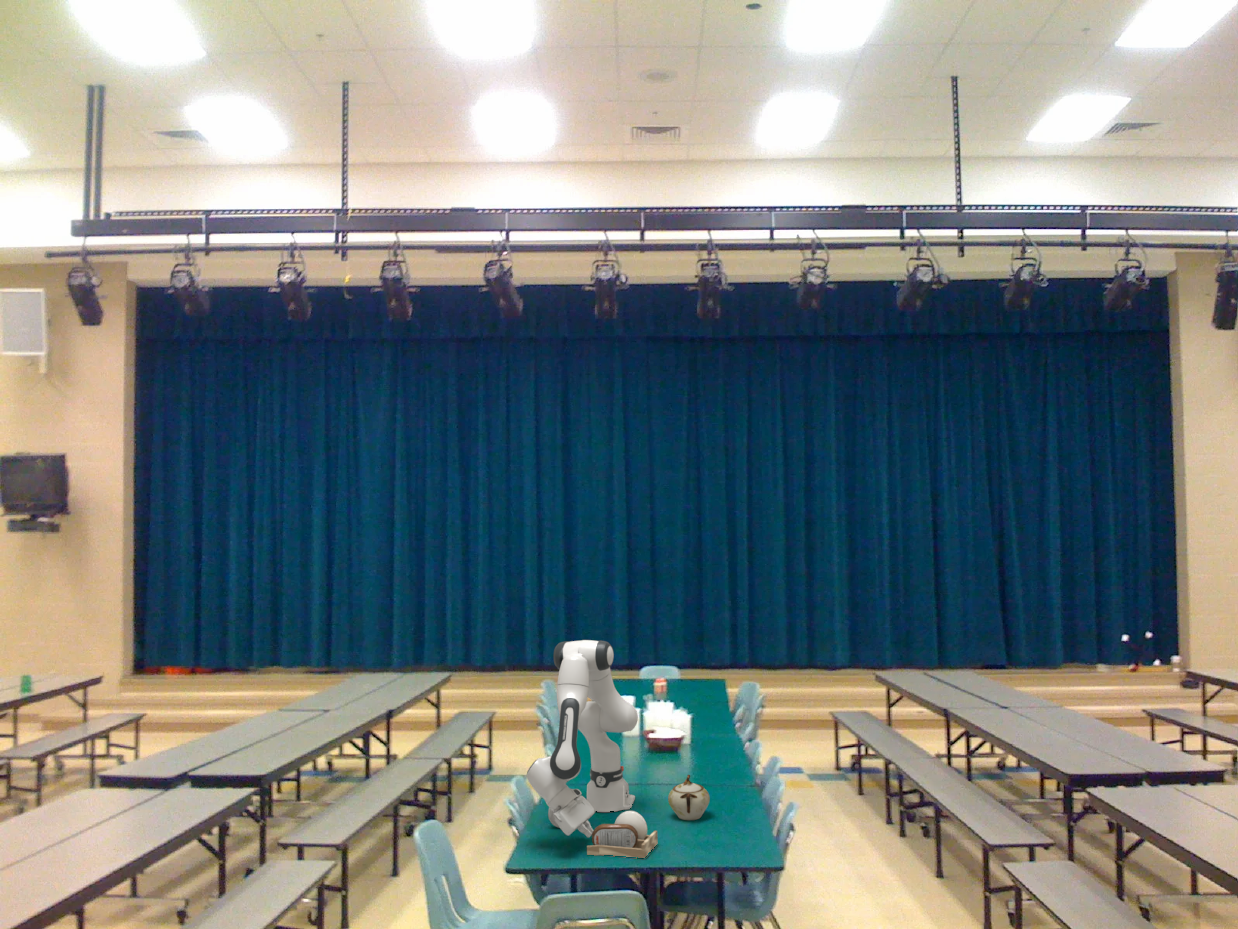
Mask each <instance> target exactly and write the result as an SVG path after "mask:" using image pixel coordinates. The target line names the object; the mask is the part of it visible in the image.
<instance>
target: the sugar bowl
mask: <svg viewBox="0 0 1238 929" xmlns="http://www.w3.org/2000/svg"><path fill="white" fill-rule="evenodd" d="M690 778H691V775H690V774H687V776H686V779H685V780H684V781H683V782H682V783H680V784H677V785H675V786H673V788H672V789H671V790H670V791H669V793H668V796H667V799H668V800H667V801H668V805H669V806H670V808H671V809H672V811H673V812H674V813H675V814H676V816H677V817H678V818H679V820H683V821H695V820H699V819H700V818H701V817H702V816H703V814H705V811H706V810H707V808H708V806H709V804H710V797H711V796H710V794H709V792H708V791H707V789H705V787H704V786H703V785H701V784H697V783H696V782H695V783H694V782H692V781H691V780H690Z"/></svg>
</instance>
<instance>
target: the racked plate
mask: <svg viewBox="0 0 1238 929" xmlns="http://www.w3.org/2000/svg"><path fill="white" fill-rule="evenodd" d="M614 824H629V825H631V826H633V827H634V828H635V829H636V831H637V833H638V839H640V840H644V839H645V837H646V835H648V825H647V824H648V823H647V822H646V820H645V818H644V817H643V816H642V815H641V814H640V813H639V812H637V811H635V810H625V811H624V812H621V813H620V814H619V815H618V816H617V817H616V819H615V822H614Z"/></svg>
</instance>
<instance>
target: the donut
mask: <svg viewBox="0 0 1238 929" xmlns="http://www.w3.org/2000/svg"><path fill="white" fill-rule="evenodd" d="M547 816H548V820H549V822H550V823H551V824H552V825H553V826H554V827H556V828H557V829H561V828H560V827H559V826H558V824H557V823H556V821H555V817H554V814H553V811H552V810H551V809H550V807H549V806H548V813H547Z"/></svg>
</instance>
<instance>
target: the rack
mask: <svg viewBox="0 0 1238 929" xmlns="http://www.w3.org/2000/svg"><path fill="white" fill-rule="evenodd" d="M658 837H659V836H658V830H653V832H651V833H650V834H647V835H646V837H645V839H644V840H640V839H638V841H637V845H636V846H635V848H629V847H618V846H606V845H593V844H592V845H586V855H594V856H604V855H613V856H612V857H615V856H626V857H636V858H635V859H637V857H638V858H645V857H646V856H647V855H648V853H649V852H651V850H652V849H653V850H654V849H655V848H656V847H657V846H658V845H657V844H659V843H658V841H659V840H658ZM656 845H657V846H656ZM655 846H656V847H655ZM654 847H655V848H654ZM653 850H652V851H653ZM651 853H652V852H651ZM648 856H649V855H648ZM648 856H647V857H648ZM626 857H625V858H626ZM647 857H646V858H647ZM646 858H645V859H646Z"/></svg>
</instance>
